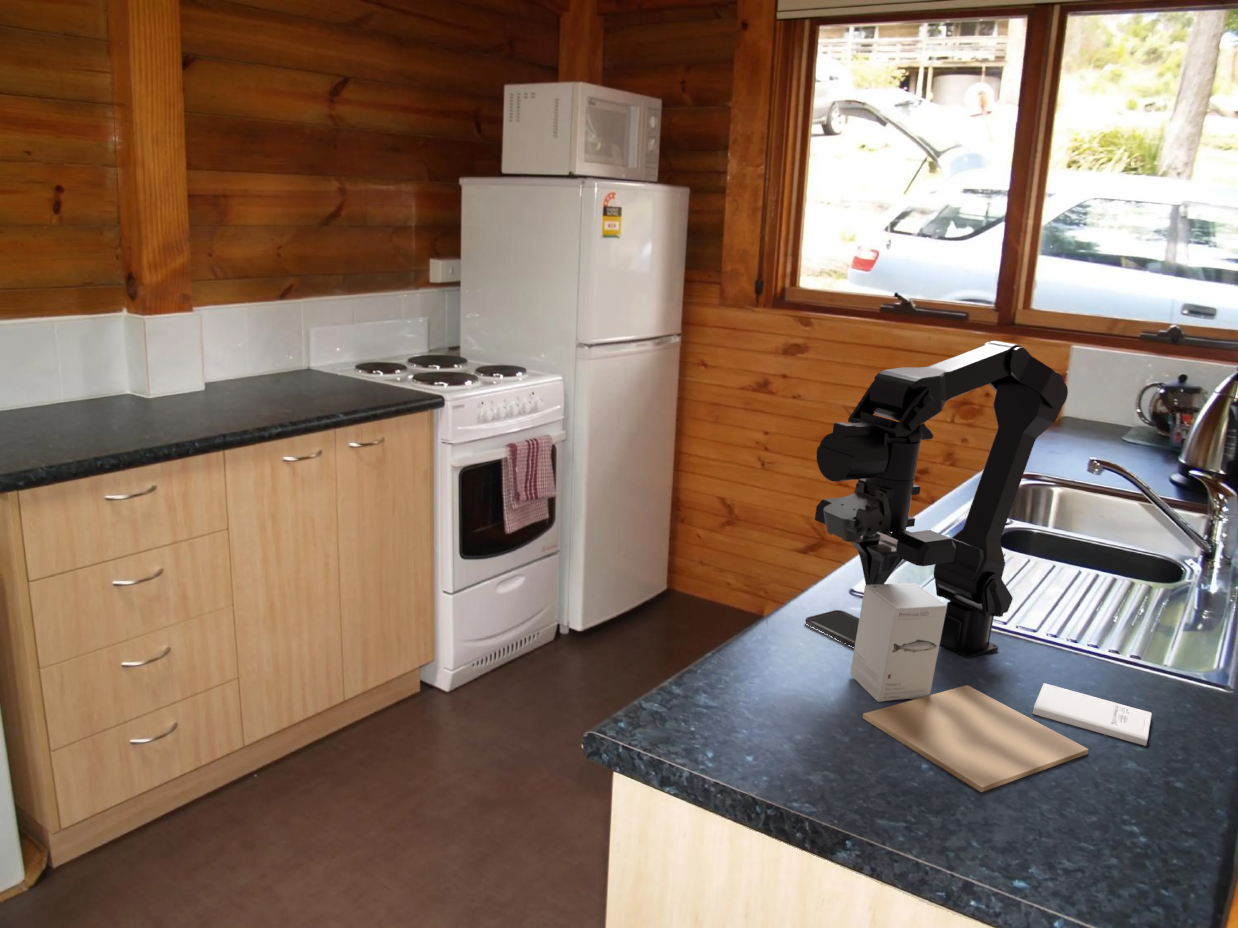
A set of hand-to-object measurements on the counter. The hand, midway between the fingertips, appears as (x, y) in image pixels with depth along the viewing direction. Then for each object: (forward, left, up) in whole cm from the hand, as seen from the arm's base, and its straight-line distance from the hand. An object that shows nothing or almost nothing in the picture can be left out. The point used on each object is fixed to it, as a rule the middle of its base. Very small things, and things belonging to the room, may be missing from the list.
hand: (872, 594), depth 128 cm
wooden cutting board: (0, +18, -11) cm, 21 cm away
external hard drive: (-18, +21, -12) cm, 30 cm away
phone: (-8, -8, -11) cm, 16 cm away
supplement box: (0, +5, -11) cm, 12 cm away
